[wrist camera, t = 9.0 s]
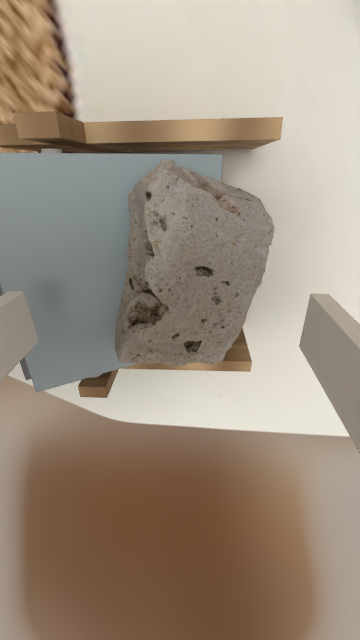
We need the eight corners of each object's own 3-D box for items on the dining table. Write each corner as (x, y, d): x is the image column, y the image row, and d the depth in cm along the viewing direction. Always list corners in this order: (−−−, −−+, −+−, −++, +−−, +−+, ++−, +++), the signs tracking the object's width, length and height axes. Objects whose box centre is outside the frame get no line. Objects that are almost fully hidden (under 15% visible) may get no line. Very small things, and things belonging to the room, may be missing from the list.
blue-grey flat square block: (28, 351, 24) (28, 397, 19) (-35, 154, 17) (-59, 147, 12) (182, 315, 29) (213, 344, 25) (181, 155, 23) (222, 150, 18)
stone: (107, 371, 21) (220, 340, 25) (135, 419, 16) (268, 370, 20) (79, 165, 16) (226, 171, 20) (108, 146, 11) (291, 159, 15)
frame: (86, 318, 32) (28, 395, 21) (52, 139, 24) (-70, 115, 13) (237, 320, 31) (258, 402, 20) (254, 134, 23) (304, 104, 12)
